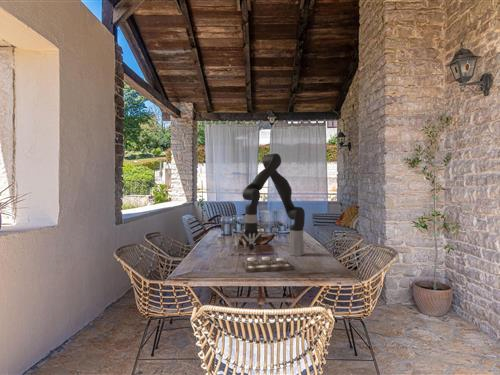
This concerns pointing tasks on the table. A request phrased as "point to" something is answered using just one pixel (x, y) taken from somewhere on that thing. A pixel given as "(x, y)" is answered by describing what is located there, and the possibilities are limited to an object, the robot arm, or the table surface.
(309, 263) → the table surface
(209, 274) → the table surface
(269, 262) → the button board
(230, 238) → the goblet set
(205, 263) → the table surface
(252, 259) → the button
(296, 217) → the robot arm
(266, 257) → the middle button
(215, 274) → the table surface
